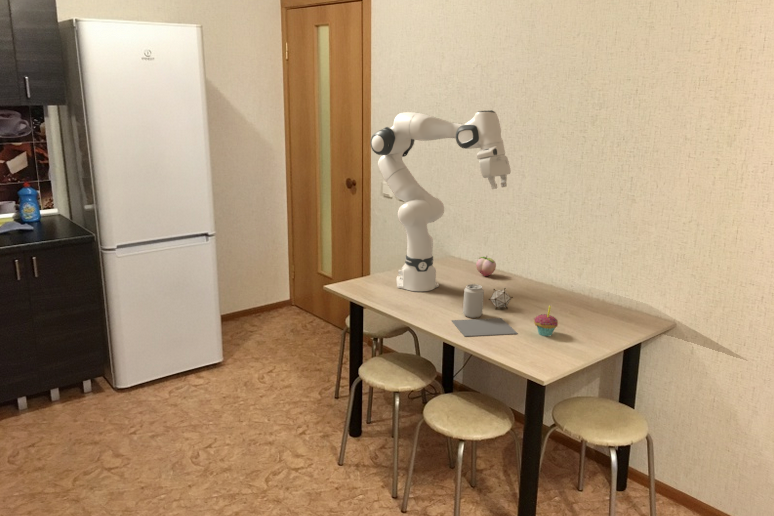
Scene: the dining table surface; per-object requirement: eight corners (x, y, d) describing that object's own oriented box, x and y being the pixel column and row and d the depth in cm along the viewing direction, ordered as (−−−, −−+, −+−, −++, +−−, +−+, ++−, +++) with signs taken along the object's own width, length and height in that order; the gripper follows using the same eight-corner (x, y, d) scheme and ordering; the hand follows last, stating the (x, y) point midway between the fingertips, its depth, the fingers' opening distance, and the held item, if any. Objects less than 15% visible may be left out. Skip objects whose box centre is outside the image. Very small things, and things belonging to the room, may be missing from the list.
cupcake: (561, 337, 234) (564, 305, 231) (540, 339, 232) (543, 307, 229) (549, 328, 242) (552, 297, 239) (528, 330, 240) (531, 299, 237)
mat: (451, 321, 247) (451, 320, 247) (501, 318, 251) (501, 317, 251) (464, 336, 232) (464, 336, 232) (517, 334, 236) (517, 333, 236)
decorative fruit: (499, 276, 307) (500, 255, 304) (489, 280, 301) (491, 259, 298) (482, 272, 313) (483, 252, 310) (472, 275, 307) (473, 255, 304)
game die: (503, 318, 263) (512, 304, 255) (483, 309, 263) (492, 294, 256) (508, 302, 268) (517, 288, 261) (489, 293, 269) (498, 279, 261)
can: (468, 310, 259) (470, 281, 256) (485, 315, 254) (487, 285, 251) (459, 315, 253) (460, 286, 250) (476, 320, 249) (478, 290, 245)
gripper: (496, 153, 260) (502, 187, 261) (474, 154, 243) (481, 191, 244) (510, 149, 256) (517, 184, 257) (490, 151, 239) (496, 188, 240)
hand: (499, 187), depth 250 cm, fingers open, 8 cm apart
